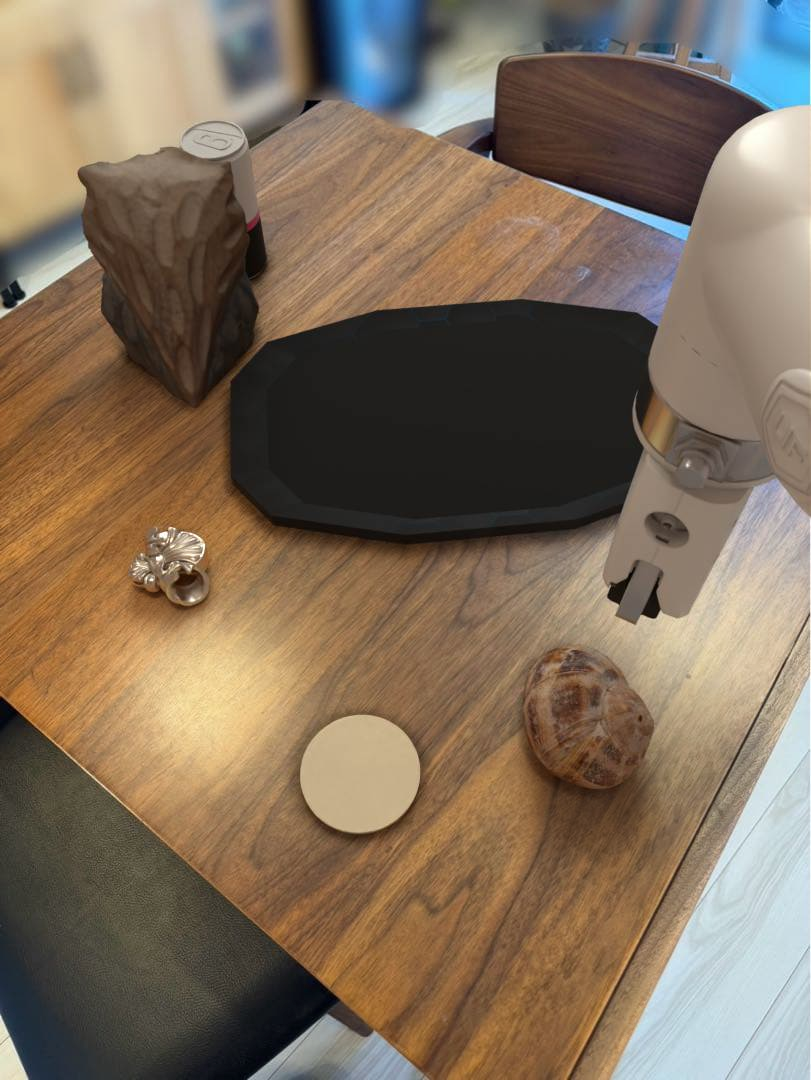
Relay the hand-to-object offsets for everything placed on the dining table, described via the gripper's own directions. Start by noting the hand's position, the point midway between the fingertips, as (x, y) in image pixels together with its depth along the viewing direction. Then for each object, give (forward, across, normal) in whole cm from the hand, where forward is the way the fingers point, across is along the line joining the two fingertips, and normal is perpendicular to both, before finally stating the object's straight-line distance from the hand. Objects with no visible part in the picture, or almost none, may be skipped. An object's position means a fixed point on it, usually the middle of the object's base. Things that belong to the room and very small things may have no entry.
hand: (634, 599), depth 55 cm
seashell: (+18, -2, 0) cm, 18 cm away
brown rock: (+18, +16, +49) cm, 55 cm away
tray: (+18, +22, +21) cm, 36 cm away
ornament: (+18, -6, +36) cm, 40 cm away
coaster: (+18, -13, +13) cm, 25 cm away
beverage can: (+18, +30, +53) cm, 64 cm away
